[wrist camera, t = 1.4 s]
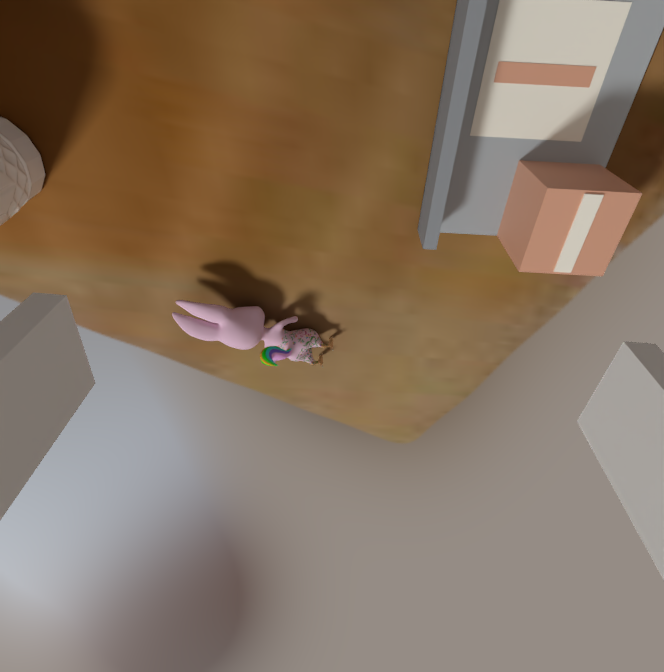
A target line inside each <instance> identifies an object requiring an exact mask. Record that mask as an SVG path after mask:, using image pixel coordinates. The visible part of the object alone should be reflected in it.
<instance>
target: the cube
mask: <svg viewBox="0 0 664 672" xmlns="http://www.w3.org/2000/svg"><path fill="white" fill-rule="evenodd" d="M641 195H642V193H641V192H640V191H638V190H637V189H635V188H634V187H632V186H631V185H629V184H628V183H626V182H625V181H623V180H622V179H620V178H619V177H618V176H616V175H615V174H613V173H612V172H610V171H609V170H607V169H606V168H604V167H603V166H601V165H599V164H580V163H562V162H544V161H525V160H519V162H518V165H517V169H516V172H515V175H514V179H513V182H512V186H511V189H510V193H509V196H508V199H507V203H506V206H505V210H504V213H503V217H502V220H501V223H500V227H499V230H498V234H497V236H498V238H499V240H500V241H501V243H502V245H503V246H504V248H505V250H506V251H507V253H508V255H509V256H510V258H511V259H512V261H513V263H514V264H515V266H516V268H517V269H518V271H519V272H535V273H553V274H571V275H589V276H603V274H604V272H605V270H606V268H607V266H608V264H609V262H610V260H611V258H612V256H613V254H614V251H615V249H616V247H617V245H618V243H619V241H620V239H621V237H622V235H623V233H624V231H625V229H626V226H627V224H628V222H629V220H630V218H631V216H632V214H633V212H634V210H635V208H636V206H637V203H638V201H639V199H640V197H641Z"/></svg>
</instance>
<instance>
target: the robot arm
mask: <svg viewBox="0 0 664 672" xmlns="http://www.w3.org/2000/svg"><path fill="white" fill-rule="evenodd" d="M94 384H95V380H94V377H93V374H92V372H91V368H90V365H89V362H88V359H87V356H86V353H85V350H84V347H83V344H82V341H81V338H80V335H79V332H78V329H77V326H76V323H75V320H74V317H73V314H72V311H71V308H70V305H69V302H68V298H67V295H56V294H44V293H32V294H31V295H30V296H29V297H28V298H27V299H25V300H24V301H23V302H22V303H21V304H20V305H19V306H18V307H16V308H15V309H14V310H13V311H12V312H11V313H10V314H9V315H7V316H6V317H5V318H4V319H3V320H2V321H0V520H1V518H2V517H3V515H4V514H5V513H6V511H7V510H8V508H9V507H10V505H11V504H12V503H13V501H14V500H15V498H16V497H17V495H18V494H19V492H20V491H21V490H22V488H23V487H24V485H25V484H26V482H27V481H28V479H29V478H30V477H31V475H32V474H33V472H34V471H35V469H36V468H37V466H38V465H39V464H40V462H41V461H42V459H43V458H44V456H45V455H46V453H47V452H48V451H49V449H50V448H51V446H52V445H53V443H54V442H55V440H56V439H57V438H58V436H59V435H60V433H61V432H62V430H63V429H64V427H65V426H66V425H67V423H68V422H69V420H70V418H71V417H72V416H73V415H74V413H75V412H76V410H77V409H78V407H79V406H80V404H81V403H82V401H83V400H84V399H85V397H86V396H87V394H88V393H89V391H90V390H91V389H92V387H93V386H94ZM577 423H578V425H579V427H580V428H581V430H582V432H583V434H584V436H585V438H586V439H587V441H588V443H589V445H590V446H591V448H592V450H593V452H594V454H595V456H596V457H597V459H598V461H599V463H600V465H601V467H602V468H603V470H604V472H605V474H606V476H607V477H608V479H609V481H610V483H611V485H612V487H613V489H614V490H615V492H616V494H617V496H618V498H619V499H620V501H621V503H622V505H623V507H624V508H625V510H626V512H627V514H628V516H629V518H630V519H631V521H632V523H633V525H634V527H635V529H636V531H637V532H638V534H639V536H640V538H641V540H642V541H643V543H644V545H645V547H646V549H647V551H648V552H649V554H650V556H651V558H652V559H653V561H654V563H655V565H656V567H657V569H658V571H659V572H660V574H661V576H662V578H663V580H664V353H663V352H662V351H661V350H660V348H659V347H658V346H657V345H656V344H648V343H636V342H623V344H622V345H621V347H620V349H619V350H618V352H617V354H616V356H615V357H614V359H613V360H612V362H611V364H610V366H609V367H608V369H607V371H606V373H605V374H604V376H603V378H602V379H601V381H600V383H599V384H598V386H597V388H596V389H595V391H594V393H593V395H592V396H591V398H590V400H589V402H588V403H587V405H586V407H585V408H584V410H583V412H582V413H581V415H580V417H579V418H578V420H577Z"/></svg>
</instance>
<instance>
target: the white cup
mask: <svg viewBox="0 0 664 672" xmlns="http://www.w3.org/2000/svg"><path fill="white" fill-rule="evenodd" d="M44 179H45V171H44V167H43V163H42V159H41V155H40V153H39V152H38V151H37V149H36V148H35V146H34V145H33V143H32V142H31V140H30V139H29V137H28V136H27V135H26V134H25V133H24V132H22V131H21V130H20V129H19V128H17V127H16V126H15V125H14V124H12V123H11V122H10V121H9V120H7V119H5V118H3V117H0V225H2V224H3V223H4V222H6V221H7V220H9V219H10V218H11V217H12V216H13V215H14V214H15V213H17V212H18V211H19V210H20V208H21V207H22V206H23V205H24V204H25V203H26V202H27V201H29V200H30V199H31V198H33V197H34V196H35V195H37V194H38V193H39V192H40V191H41V190H42V186H43V182H44Z"/></svg>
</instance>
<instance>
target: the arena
mask: <svg viewBox="0 0 664 672" xmlns="http://www.w3.org/2000/svg"><path fill="white" fill-rule="evenodd" d="M663 27H664V0H457V4H456V10H455V16H454V22H453V28H452V33H451V39H450V45H449V51H448V57H447V62H446V68H445V74H444V80H443V86H442V91H441V97H440V103H439V109H438V115H437V120H436V126H435V132H434V138H433V144H432V149H431V155H430V161H429V167H428V173H427V178H426V184H425V190H424V196H423V202H422V207H421V213H420V219H419V225H418V233H419V236H420V240H421V243H422V247H423V249H435V250H436V248H437V243H438V238H439V233H440V232H442V233H460V234H479V235H497V234H498V230H499V227H500V223H501V220H502V217H503V213H504V210H505V206H506V203H507V199H508V196H509V193H510V189H511V186H512V182H513V179H514V175H515V172H516V169H517V165H518V162H519V160H525V161H544V162H562V163H580V164H599V165H601V166H603V167H604V168H606V166H607V163H608V161H609V158H610V156H611V153H612V151H613V149H614V146H615V144H616V141H617V139H618V136H619V134H620V132H621V129H622V127H623V124H624V122H625V120H626V117H627V115H628V112H629V110H630V107H631V105H632V103H633V100H634V98H635V95H636V93H637V90H638V88H639V86H640V83H641V81H642V78H643V76H644V73H645V71H646V69H647V66H648V64H649V61H650V59H651V57H652V54H653V52H654V49H655V47H656V44H657V42H658V40H659V37H660V35H661V32H662V30H663Z"/></svg>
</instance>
